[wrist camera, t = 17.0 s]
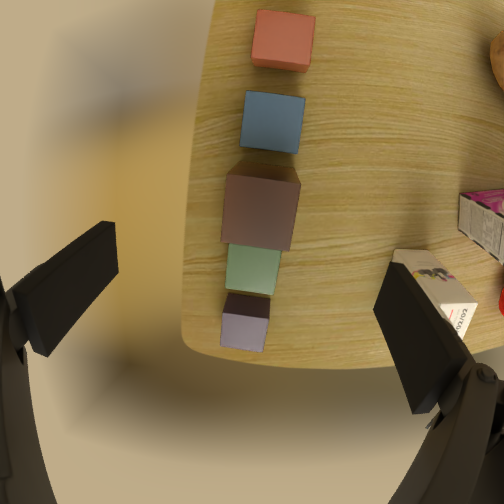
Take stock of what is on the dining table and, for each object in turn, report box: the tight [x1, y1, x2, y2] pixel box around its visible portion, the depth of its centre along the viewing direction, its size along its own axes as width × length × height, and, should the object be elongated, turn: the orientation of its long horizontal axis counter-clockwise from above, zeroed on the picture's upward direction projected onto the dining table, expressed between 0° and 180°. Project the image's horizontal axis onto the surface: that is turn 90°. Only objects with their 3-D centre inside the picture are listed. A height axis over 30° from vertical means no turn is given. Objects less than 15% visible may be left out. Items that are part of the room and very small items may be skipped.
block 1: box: [251, 9, 316, 73], centre depth 22 cm, size 5×5×4 cm
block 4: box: [220, 293, 270, 352], centre depth 34 cm, size 5×5×4 cm
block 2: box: [239, 90, 306, 154], centre depth 25 cm, size 5×5×4 cm
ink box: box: [392, 249, 478, 339], centre depth 26 cm, size 8×5×15 cm, turn 179°
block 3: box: [225, 243, 282, 295], centre depth 31 cm, size 5×5×4 cm
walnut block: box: [221, 161, 301, 251], centre depth 26 cm, size 6×6×8 cm
